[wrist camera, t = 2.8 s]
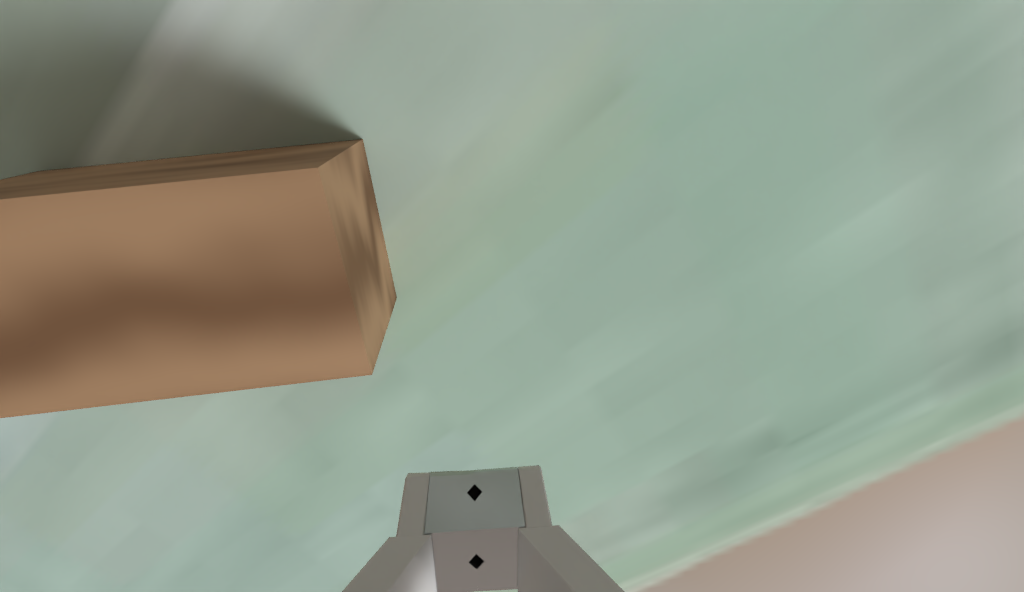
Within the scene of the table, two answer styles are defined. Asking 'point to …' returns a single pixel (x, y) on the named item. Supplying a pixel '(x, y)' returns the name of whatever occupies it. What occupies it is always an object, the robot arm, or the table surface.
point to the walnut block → (189, 277)
